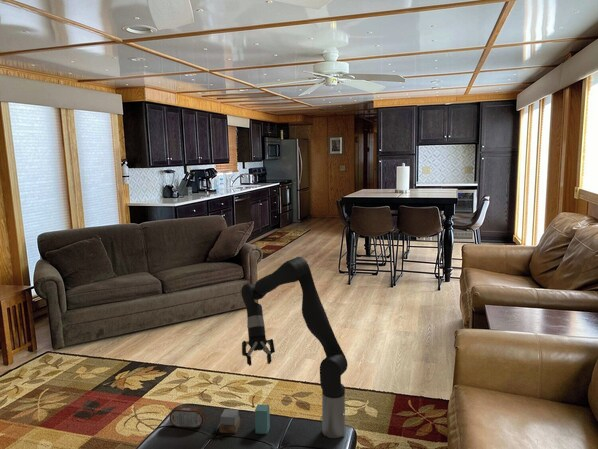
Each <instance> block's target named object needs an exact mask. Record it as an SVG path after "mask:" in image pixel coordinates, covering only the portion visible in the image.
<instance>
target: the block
mask: <svg viewBox="0 0 598 449" xmlns="http://www.w3.org/2000/svg"><path fill="white" fill-rule="evenodd" d="M270 419H271V418H270V404H259V403H258V404H257V405H256V408H255V410H254V425H255V426H254V427H255V429H254V430H255V434H259V435H260V434H261V435H268V433H269V430H270V426H271V422H270Z"/></svg>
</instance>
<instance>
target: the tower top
mask: <svg viewBox="0 0 598 449" xmlns="http://www.w3.org/2000/svg"><path fill="white" fill-rule="evenodd" d="M239 413H240V412H239V409H233V408H232V409H231V408H229V409H228V408H224V410H223V411H222V413H221V414H220V423H221V424H222V425H235V424H236V422H237V420H238V418H239V417H240V415H239Z"/></svg>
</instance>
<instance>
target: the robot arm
mask: <svg viewBox="0 0 598 449" xmlns="http://www.w3.org/2000/svg"><path fill="white" fill-rule="evenodd" d="M296 282H299V284H300V285H299V286H300V288H301V292H302V300H301V314H302V317H303V320H304V322H305V324H306V327H307V329H308V331H309V332H310V333H311V334H312V336H314V338H316V339H317V341H319V343H320V344H321V346H322V349H323V351H324V353H325V357H324V359H322V361H320V365H319V385H320V389H321V390H322V391H321V396H322V398H321V399H322V401H321V402H322V403H321V404H322V405H321V406H322V408H321V409H322V411H321V412H322V418H321V419H322V422H321V424H322V427H321V428H322V432H321V433H322V434H323V435H324V437H326V436H327V437H326V438H329V439H339V438H342V437H343V438H344V437H345V435H346V434H345V433H346V431H345V430H346V407H345V406H346V404H345V403H346V402H345V400H346V398H345V396H346V388H345V385H344V384H343V383H342V376H343V374H344V373H345V372H346V371H347V369H348V365H349V364H348V360H347V357H346V356H345V353H344V352H343V350H342V348H341V346H340V343H339V342H338V340H337V337H336V335H335V333H334V331H333V328H332V326H331V323H330V321H329V318H328V315H327V313H326V310H325V308H324V305H323V304H322V301H321V299H320V295H319V293H318V291H317V288H316V285H315V281H314V278H313V275H312V271H311V269H310V266H309V264H308V262H307V260H306V259H305V258H304V257H302V256H296V257H294V258H291V259H288V260H287V261H285V262H283V263H282V264H281V265H280V266H279V267H278V268H277V269H275V270H274V271H273V272H271V273H270V274H267V275H265V276H263V277H261V278H260V279H258V280H257V281H256V282H255V283H245V284H244V285H243V286H242V287H241V290H240V292H241V293H240V294H241V297H242V300H243V303H244V306H245V309H246V316H247V318H246V319H247V324H246V328H247V335H248V340H247V341H246V340H243V341H242V342H241V354H242V356H244V357H246V363H247V365H248V367H250V366H252V356H251V355H252V353H253V352H256V351H258V352H259V351H260V352H261V351H263V352H264V353H265V354H266V362H267V365H270V364H271V363H272V354H274V353H275V352H276V351H275V350H276V349H275V343H274V340H273V338H270V339H267V338H266V327H265V319H264V315H263V314H264V313H263V306H262V305H261V304H260V303H257V302H256V301H257V300H258V301H259V300H262V299H263V298H264V297H265V296H266V295H267V294H268V293H271V292H273V291H274V290H276V289H277V288H278V287H279V286H282V285H285V284H291V283H296ZM255 300H256V301H255ZM267 344H268V345H269V348H268V346H267ZM247 346H249V347H250V348H249V349H248V351H247Z"/></svg>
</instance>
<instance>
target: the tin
mask: <svg viewBox="0 0 598 449" xmlns="http://www.w3.org/2000/svg"><path fill="white" fill-rule="evenodd" d="M205 420H206V414H205V412H204V411H203V409H201V408H199V407H197V406H194V407H193V406H179V405H178V406H175V407H173V408H172V410H171V412H170V414H169V421H170V423H171V424H172V425H173V426H174V427H177V428H191V429H196V428H197V429H198V428H201V426H202V425H203V424H204V422H205Z"/></svg>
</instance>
